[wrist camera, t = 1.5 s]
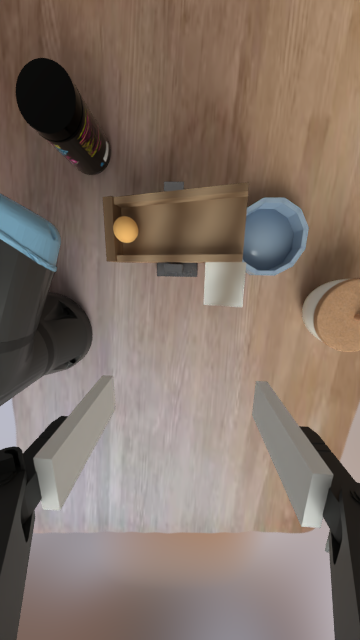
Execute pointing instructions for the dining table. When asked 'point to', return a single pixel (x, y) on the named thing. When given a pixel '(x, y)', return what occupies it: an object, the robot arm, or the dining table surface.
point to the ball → (125, 229)
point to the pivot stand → (176, 268)
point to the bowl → (273, 236)
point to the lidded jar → (335, 314)
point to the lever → (187, 234)
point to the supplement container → (61, 115)
